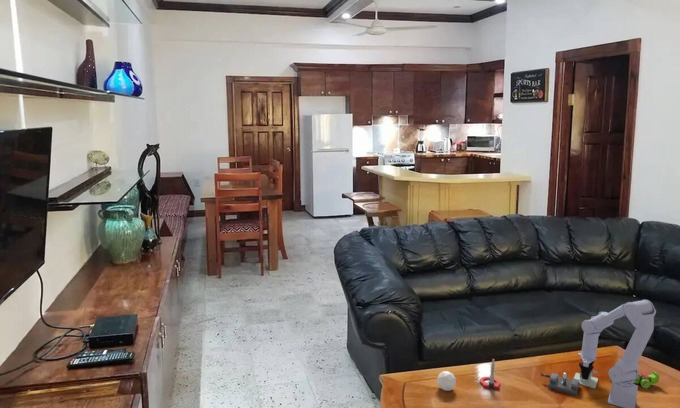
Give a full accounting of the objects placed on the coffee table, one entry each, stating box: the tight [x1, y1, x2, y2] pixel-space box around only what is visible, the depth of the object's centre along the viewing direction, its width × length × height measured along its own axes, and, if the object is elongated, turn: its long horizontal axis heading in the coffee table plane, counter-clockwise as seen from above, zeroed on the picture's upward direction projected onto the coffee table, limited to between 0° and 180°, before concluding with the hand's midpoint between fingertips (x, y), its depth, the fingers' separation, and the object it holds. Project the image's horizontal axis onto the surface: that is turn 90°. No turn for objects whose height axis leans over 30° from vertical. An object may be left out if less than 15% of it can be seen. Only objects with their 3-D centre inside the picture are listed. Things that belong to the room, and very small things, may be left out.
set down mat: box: [573, 372, 599, 390], centre depth 227 cm, size 9×9×1 cm
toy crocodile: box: [607, 370, 660, 389], centre depth 226 cm, size 20×7×6 cm, turn 78°
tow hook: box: [479, 358, 501, 390], centre depth 222 cm, size 8×13×9 cm
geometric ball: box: [436, 370, 457, 392], centre depth 217 cm, size 8×8×8 cm
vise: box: [540, 371, 581, 397], centre depth 222 cm, size 15×9×6 cm, turn 58°
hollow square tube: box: [579, 368, 598, 383], centre depth 226 cm, size 6×4×5 cm
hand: (586, 375), depth 227 cm, fingers open, 7 cm apart
